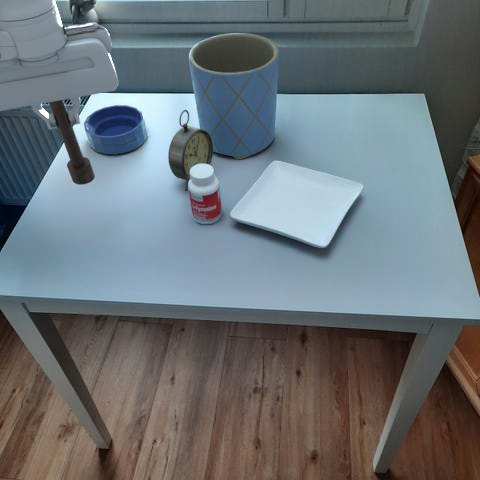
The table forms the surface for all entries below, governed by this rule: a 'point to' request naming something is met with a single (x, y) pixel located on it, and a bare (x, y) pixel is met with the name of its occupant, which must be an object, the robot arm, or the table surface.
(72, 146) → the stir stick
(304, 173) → the salad plate
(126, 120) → the bowl
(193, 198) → the pill bottle
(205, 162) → the alarm clock
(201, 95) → the planter
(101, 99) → the table surface
